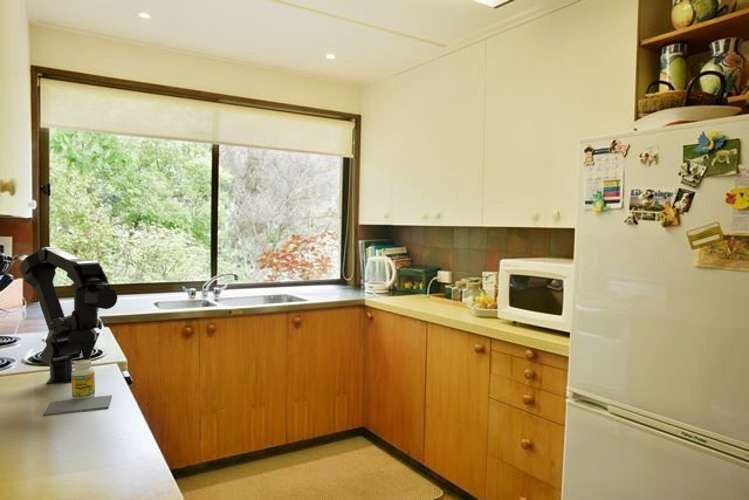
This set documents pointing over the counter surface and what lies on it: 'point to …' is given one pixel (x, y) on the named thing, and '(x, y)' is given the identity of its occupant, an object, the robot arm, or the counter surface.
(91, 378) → the supplement bottle
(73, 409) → the mat
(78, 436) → the counter surface
